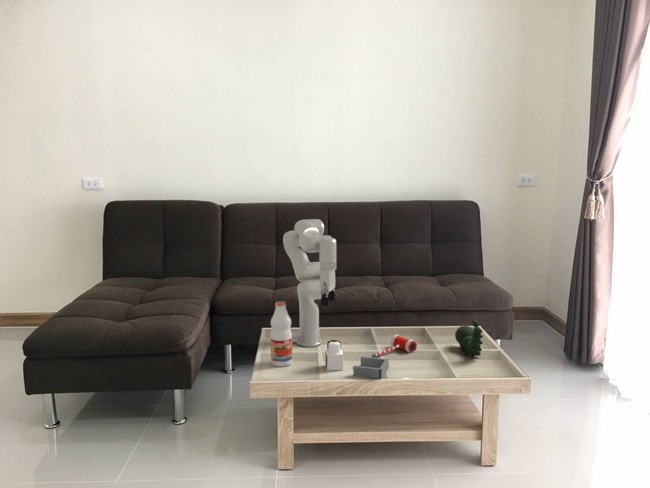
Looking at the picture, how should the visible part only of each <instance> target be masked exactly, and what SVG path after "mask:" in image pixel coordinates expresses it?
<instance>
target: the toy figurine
mask: <svg viewBox="0 0 650 488" xmlns="http://www.w3.org/2000/svg"><path fill="white" fill-rule="evenodd" d="M471 324H472V326H473V327H474V328H472V327H471V326H468V325H460V326H459V327H458V328H457V329H456V330H455V334H454V337H455V340H456V342H457V343H458V344H459V347H460V349H459V350H460V351H462V352H463V354H464V355H465V356H469V357H472V356H473V355H475V356H481V352H482V350H483V349H482V346H481V345H483V344H484V343H483V341H482V338H483V337H484V336H483V335H482V333H483V329H481V327H479V326H480V325H479V322H478V320H476V319H474V318H473V319H472V320H471Z"/></svg>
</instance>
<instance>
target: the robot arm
mask: <svg viewBox="0 0 650 488" xmlns="http://www.w3.org/2000/svg"><path fill="white" fill-rule="evenodd" d="M293 229H294V230H289V231H286V232H285V233H284V234H283V238H282V242H283V248H284V250H285V251H284V252H286V255H287V256H288V258H289V259H290V261H291V264H292V268H293V270H294V275H295V277H296V280H297V281H299V283H298V285H297V287H296V290H297V291H296V292H297V295H298V296H297V297H298V304H299V305H298V307H299V308H298V309H299V312H298V313H299V333H292V339H297V340H296V344H297V345H298V346H299V345H300V347H303V346H304V348H305V347H306V348H314V347H318V346H317V345H318V344H320V343H322V344H323V339H321V338H320V310H319V309H320V308H319V306H318V304H317V303H315V301H316V300H320V306H321V307H322V306H323V307H328V306H329V302H334V301H336V293H335V292H336V289H335V288H336V270H337V240H336V238H334V237H332V236H331V235H329V234H327V235H324V232H325V225H324V223H323V221H322V220H321V219H320V218H319V219H317V218H316V219H315V218H313V219H311V218H309V219H300V220H298V221H297V222H295V225H294V228H293ZM307 253H308V254H311V253H315V254H316V253H319V255H318V257H319V261H313V262H311V261H310V259H309V257H308V255H307ZM319 339H320V342H319ZM318 342H319V343H318Z"/></svg>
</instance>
